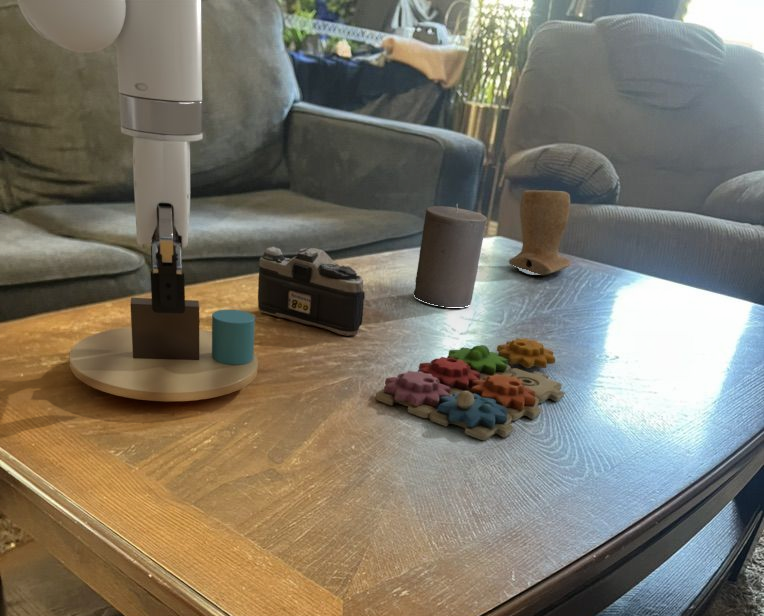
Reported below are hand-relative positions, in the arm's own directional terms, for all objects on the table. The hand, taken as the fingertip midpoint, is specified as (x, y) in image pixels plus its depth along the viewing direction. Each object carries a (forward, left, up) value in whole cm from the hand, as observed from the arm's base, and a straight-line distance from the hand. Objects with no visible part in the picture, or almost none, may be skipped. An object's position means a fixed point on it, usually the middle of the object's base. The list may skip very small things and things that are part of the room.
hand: (168, 297), depth 82 cm
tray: (0, 0, -7) cm, 8 cm away
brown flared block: (+71, +59, -9) cm, 93 cm away
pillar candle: (+44, +35, -9) cm, 57 cm away
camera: (+21, +23, -9) cm, 32 cm away
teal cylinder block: (+7, 0, -7) cm, 9 cm away
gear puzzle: (+39, -1, -9) cm, 40 cm away
